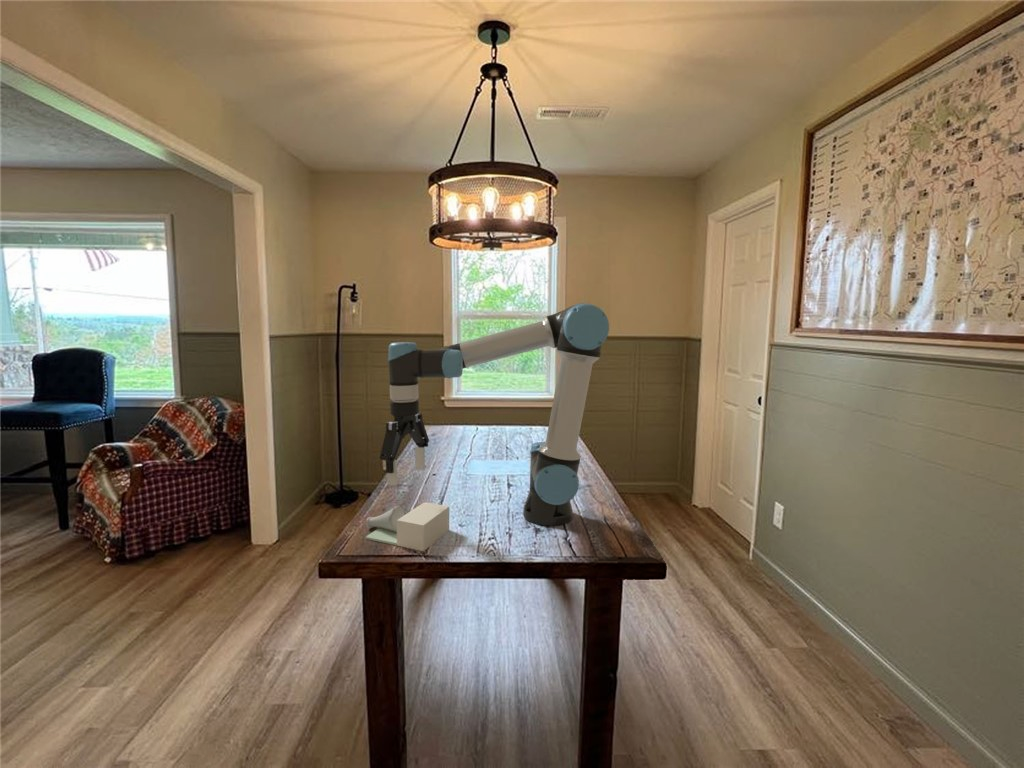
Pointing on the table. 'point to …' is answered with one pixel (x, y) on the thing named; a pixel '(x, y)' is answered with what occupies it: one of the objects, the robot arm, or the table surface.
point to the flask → (386, 519)
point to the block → (422, 526)
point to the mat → (383, 536)
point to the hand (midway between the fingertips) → (406, 476)
